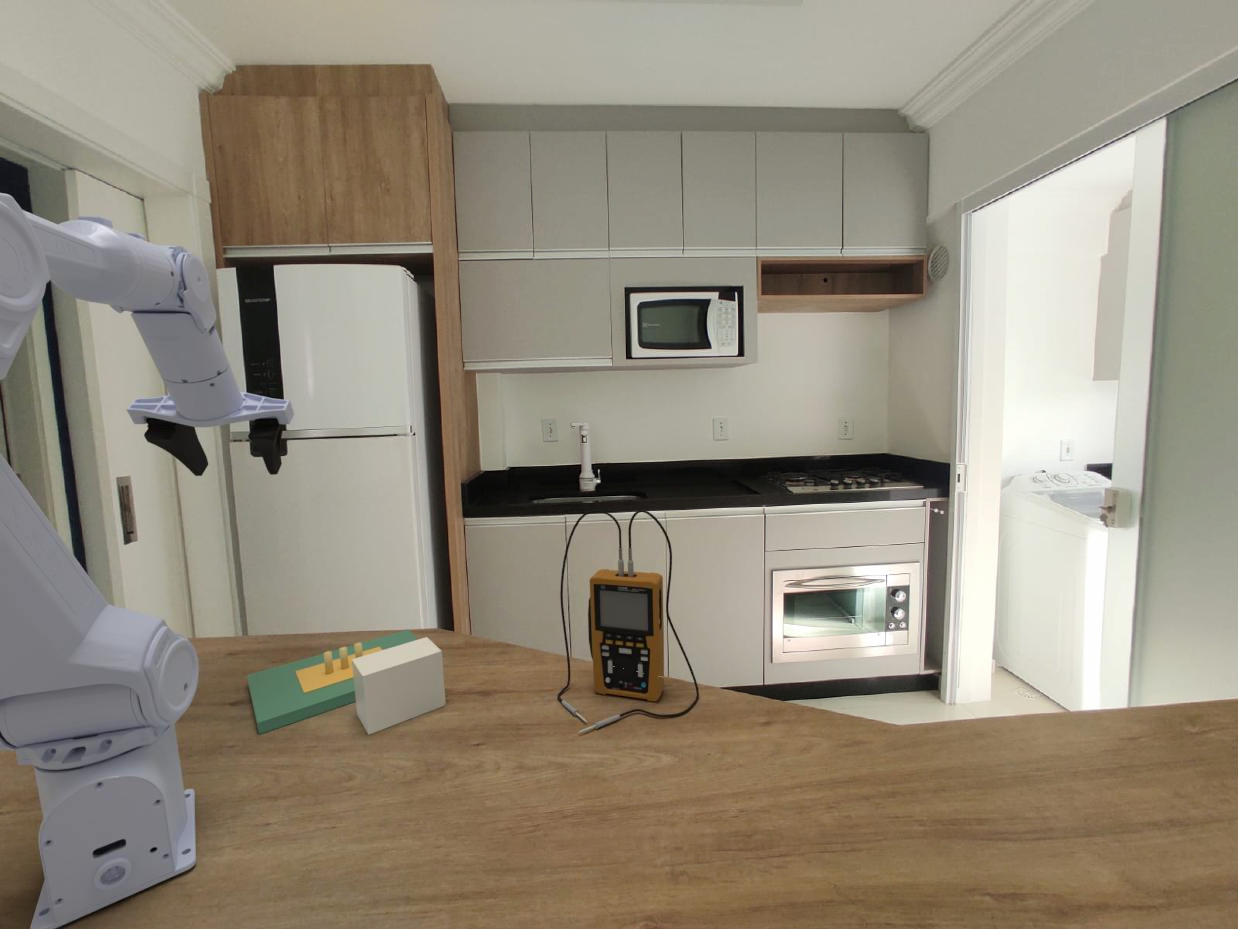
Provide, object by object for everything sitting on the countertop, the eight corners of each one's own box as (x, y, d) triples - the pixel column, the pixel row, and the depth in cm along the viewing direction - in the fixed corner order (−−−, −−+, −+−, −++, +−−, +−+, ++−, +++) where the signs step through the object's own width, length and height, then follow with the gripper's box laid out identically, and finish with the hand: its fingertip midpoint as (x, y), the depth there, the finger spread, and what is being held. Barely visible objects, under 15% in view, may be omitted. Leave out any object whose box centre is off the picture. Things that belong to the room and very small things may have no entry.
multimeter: (532, 729, 52) (521, 527, 50) (571, 677, 62) (564, 505, 59) (682, 755, 48) (679, 535, 45) (700, 694, 57) (698, 510, 55)
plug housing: (445, 705, 57) (441, 651, 56) (368, 735, 52) (362, 676, 51) (430, 688, 60) (426, 637, 59) (357, 714, 56) (351, 659, 55)
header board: (441, 671, 64) (438, 642, 63) (259, 734, 53) (254, 699, 52) (408, 638, 73) (406, 611, 73) (248, 685, 62) (244, 654, 62)
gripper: (286, 349, 59) (316, 447, 67) (130, 345, 56) (182, 448, 64) (266, 385, 53) (301, 486, 62) (92, 383, 50) (155, 489, 59)
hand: (239, 469), depth 63 cm, fingers open, 7 cm apart
